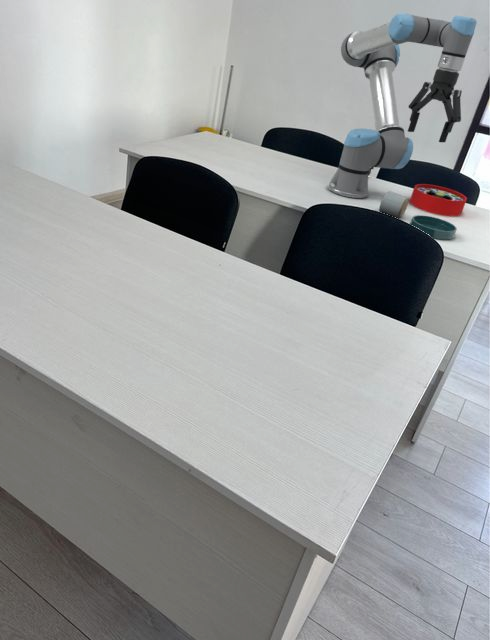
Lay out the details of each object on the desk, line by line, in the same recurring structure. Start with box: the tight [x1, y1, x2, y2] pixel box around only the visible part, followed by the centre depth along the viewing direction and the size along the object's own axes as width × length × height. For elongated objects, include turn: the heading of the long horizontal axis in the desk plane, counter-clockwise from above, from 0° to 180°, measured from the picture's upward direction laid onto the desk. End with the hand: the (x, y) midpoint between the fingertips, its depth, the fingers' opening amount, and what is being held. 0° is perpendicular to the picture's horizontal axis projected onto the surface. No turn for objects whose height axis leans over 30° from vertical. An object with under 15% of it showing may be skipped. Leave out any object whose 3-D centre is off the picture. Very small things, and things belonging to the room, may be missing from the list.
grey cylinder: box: [378, 190, 409, 218], centre depth 209 cm, size 11×8×8 cm
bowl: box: [409, 214, 458, 241], centre depth 199 cm, size 15×15×3 cm
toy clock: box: [409, 183, 468, 217], centre depth 226 cm, size 20×6×20 cm
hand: (425, 136), depth 202 cm, fingers open, 13 cm apart
